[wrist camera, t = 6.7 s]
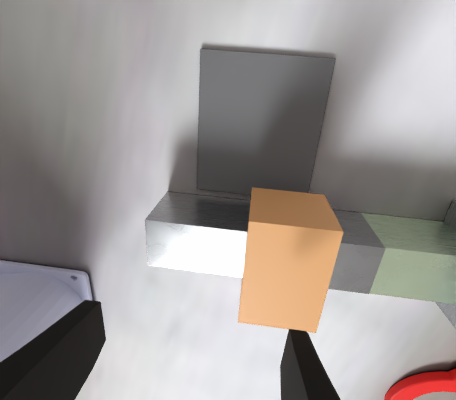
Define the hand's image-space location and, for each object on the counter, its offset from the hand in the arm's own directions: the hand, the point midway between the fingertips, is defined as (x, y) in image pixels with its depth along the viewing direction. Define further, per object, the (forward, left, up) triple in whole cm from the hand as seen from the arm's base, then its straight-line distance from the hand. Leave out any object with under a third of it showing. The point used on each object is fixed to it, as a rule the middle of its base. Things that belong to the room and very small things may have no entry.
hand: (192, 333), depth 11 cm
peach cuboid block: (+4, 0, -7) cm, 8 cm away
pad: (+2, +6, -9) cm, 11 cm away
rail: (+5, 0, -9) cm, 10 cm away
